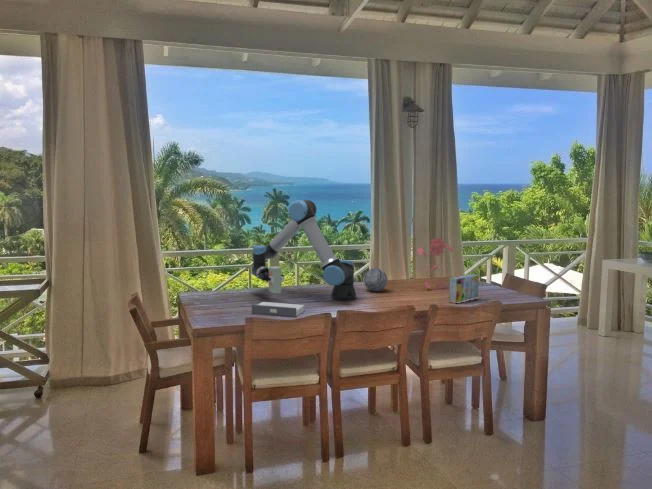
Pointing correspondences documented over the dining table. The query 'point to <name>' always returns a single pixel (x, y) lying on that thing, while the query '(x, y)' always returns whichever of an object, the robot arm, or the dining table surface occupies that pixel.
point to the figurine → (437, 249)
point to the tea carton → (275, 279)
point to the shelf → (277, 309)
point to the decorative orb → (375, 279)
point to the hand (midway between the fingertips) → (278, 279)
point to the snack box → (463, 287)
